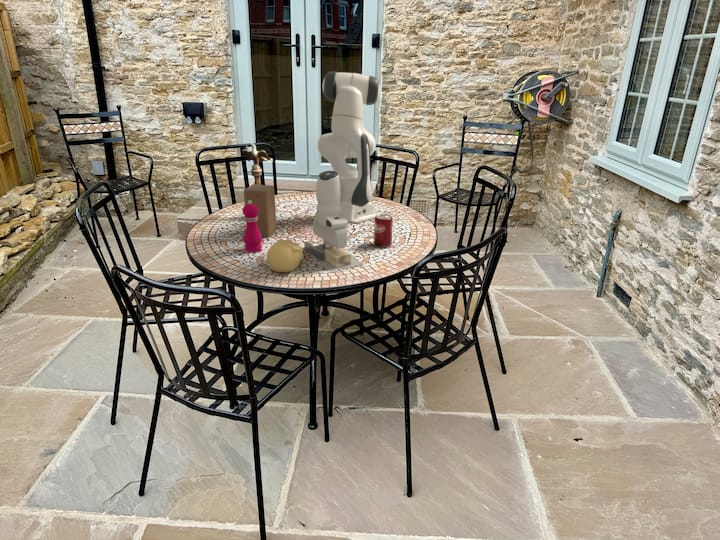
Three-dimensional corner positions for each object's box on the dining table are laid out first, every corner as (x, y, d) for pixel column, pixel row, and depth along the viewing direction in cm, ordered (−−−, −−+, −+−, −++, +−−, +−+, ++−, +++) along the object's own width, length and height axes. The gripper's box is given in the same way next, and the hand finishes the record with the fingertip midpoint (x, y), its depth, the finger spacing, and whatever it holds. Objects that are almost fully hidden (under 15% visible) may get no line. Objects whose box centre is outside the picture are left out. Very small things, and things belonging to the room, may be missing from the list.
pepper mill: (242, 247, 190) (238, 198, 182) (260, 245, 192) (257, 196, 184) (246, 254, 184) (241, 203, 175) (264, 251, 186) (261, 201, 178)
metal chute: (326, 245, 194) (325, 237, 192) (343, 256, 183) (343, 249, 182) (304, 249, 189) (304, 242, 188) (321, 261, 178) (321, 254, 177)
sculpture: (308, 268, 172) (307, 240, 168) (281, 278, 164) (279, 249, 160) (288, 259, 180) (287, 232, 175) (261, 268, 172) (259, 240, 167)
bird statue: (253, 209, 235) (247, 136, 221) (278, 211, 233) (274, 137, 219) (239, 220, 220) (232, 142, 206) (266, 222, 218) (261, 143, 204)
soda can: (379, 249, 191) (380, 220, 186) (370, 243, 197) (371, 214, 192) (394, 246, 194) (396, 217, 189) (385, 240, 200) (387, 212, 195)
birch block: (338, 255, 182) (338, 246, 180) (350, 264, 175) (350, 254, 173) (324, 259, 179) (324, 249, 177) (336, 267, 172) (336, 257, 170)
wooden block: (269, 238, 200) (265, 191, 192) (246, 236, 202) (242, 189, 193) (277, 230, 209) (274, 185, 201) (255, 228, 211) (252, 183, 202)
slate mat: (349, 256, 184) (349, 254, 183) (363, 265, 176) (363, 263, 176) (316, 263, 177) (316, 261, 176) (329, 273, 169) (329, 271, 169)
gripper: (308, 210, 182) (309, 244, 188) (334, 226, 166) (335, 262, 172) (323, 208, 185) (323, 241, 191) (350, 223, 169) (350, 259, 175)
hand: (329, 251), depth 181 cm, fingers closed
